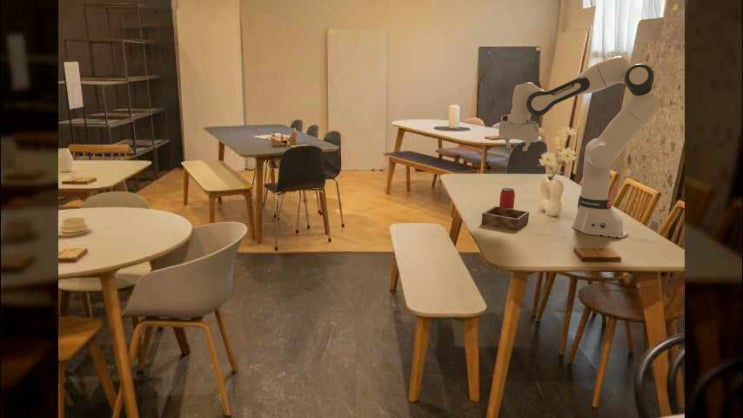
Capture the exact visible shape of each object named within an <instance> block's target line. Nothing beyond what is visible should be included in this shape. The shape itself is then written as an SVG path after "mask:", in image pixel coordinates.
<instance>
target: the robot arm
mask: <svg viewBox="0 0 743 418" xmlns="http://www.w3.org/2000/svg"><path fill="white" fill-rule="evenodd" d="M656 79H657V78H656V74H655V72H654V70H653V68H652V67H651V66H650V65H648V64H645V63H635V64H634V65H631V64H630V62H629V60H628V59H627V58H626V57H624V56H623V55H618V56H612V57H610V58H607V59H604V60H602V61H599V62H596V63H594V64H593V65H591V66H589V67H588V68H585V69H584V70H583V71H581V72H580V73H579V74H578V75H576V76H575V77H574V78H572V79H571V80H569V81H567V82H566V83H564V84H562V85H560V86H559V85H558V86H557V87H554V88H553V89H549V90H544V89H542V88H541V87H539V86H537V85H535V83H534V82H531V81H529V82H520V83H517V84H516V85H515V86H514V89H513V93H512V107H511V109H510V113H509V114H505V115H501V116H500V122H499V123H500V124H499V126H498V136H499V137H502V138H504V142H505V148H508V149H511V148H512V147H511V146H512V143H511V142H510V140H517V141H523V142H525V143H524V144H525V145H524V146H522V150H521V151H522V152H528V149H529V146H531V144H532V143H537V142H538V141H539V139H540V137H539V136H540V134H539V133H540V124H539V123H538V121H535V120H531V117H532V115H533V116H536V117H537V116H538V117H539V116H543V115H545V114H546V113H549V112H550V111H552V109H553V108H554V106H555V105H557V104H559V103H561V102H564V101H566V100H568V99H570V98H572V97H576V96H580V95H585V94H591V93H597V92H599V91H602V90H605V89H607V88H609V87H611V86H614V85H616V84H623V85H624V86H625V87H626V88H627V90H628V91H629V92H630V93H631V94H632V96H631V98H630V100H629V101H628V102H627V103H626V105H625V106H624V107H623V108H622V109H621V110H620V111H619V112H618V113H617V114H616V115H615V117H613V118H612V120H611V121H610V122H609V123H607V126H606V127H605V128H604V130H603V131H602V132H601V134H600V135H599V136H598V137H597V138H593V139H591V140H589V141H588V143H587V144H586V145H585V149H584V158H583V168H582V179H581V180H582V181H581V188H580V195H579V196H578V199H577V213H576V215H575V219H574V222H573V223H572V226H571V227H572V228H573V229H574V230H576V231H579V232H581V234H586V235H593V236H600V235H603V237H608V236H610V237H609V238H616V237H618V239H623V238H625V237H627V236H628V235H629V231H628V229H627V228H624V220H623V218H622V216H621V215H619V214H618V213H617V212H616V211H615V210H614V209H613V208H612V207H613V200H610V199H609V198H608V197H609V192H610V191H609V189H610V184H611V167H612V164H613V163H614V162H615V160H616V159H617V158H618V157H619V156H620V154H621V153H623V151H624V150H625V148H626V147H627V146H628V144H629V143H630V142H631V141H632V139H634V137H635V136H636V135H637V134H638V133H639V132H640V131H641V130H642V129H643V128H644V127H645V126H646V125H647V124H648V123H649V122H650V121H651V119H652V118H653V117H654V115H655V114H656V112H657V111H658V110H659V108H660V105H661V102H660V100H659V97H658V96H657V95H655V94H654V92H653V90H654V88H655V86H656Z"/></svg>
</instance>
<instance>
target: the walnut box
mask: <svg viewBox="0 0 743 418" xmlns="http://www.w3.org/2000/svg"><path fill="white" fill-rule="evenodd" d="M529 216H530V211H525V210H521V209H509V208H503V207H499V206H496V205H495V206H493V207H491V208H490V209H489V208H488V210H486V211H484V212H482V214H481V225H483V226H488V227H493V228H499V229H505V230H509V231H515V232H518V231H519V230H520V229H522V228H523V227H524V226H526V225H527V224H529V218H530V217H529Z"/></svg>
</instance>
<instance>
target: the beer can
mask: <svg viewBox="0 0 743 418" xmlns="http://www.w3.org/2000/svg"><path fill="white" fill-rule="evenodd" d="M515 196H516V193H515V189H514V188H510V187H502V188H501V191H500V196H499V205H498V207H503V208H509V209H514V208H515Z"/></svg>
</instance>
